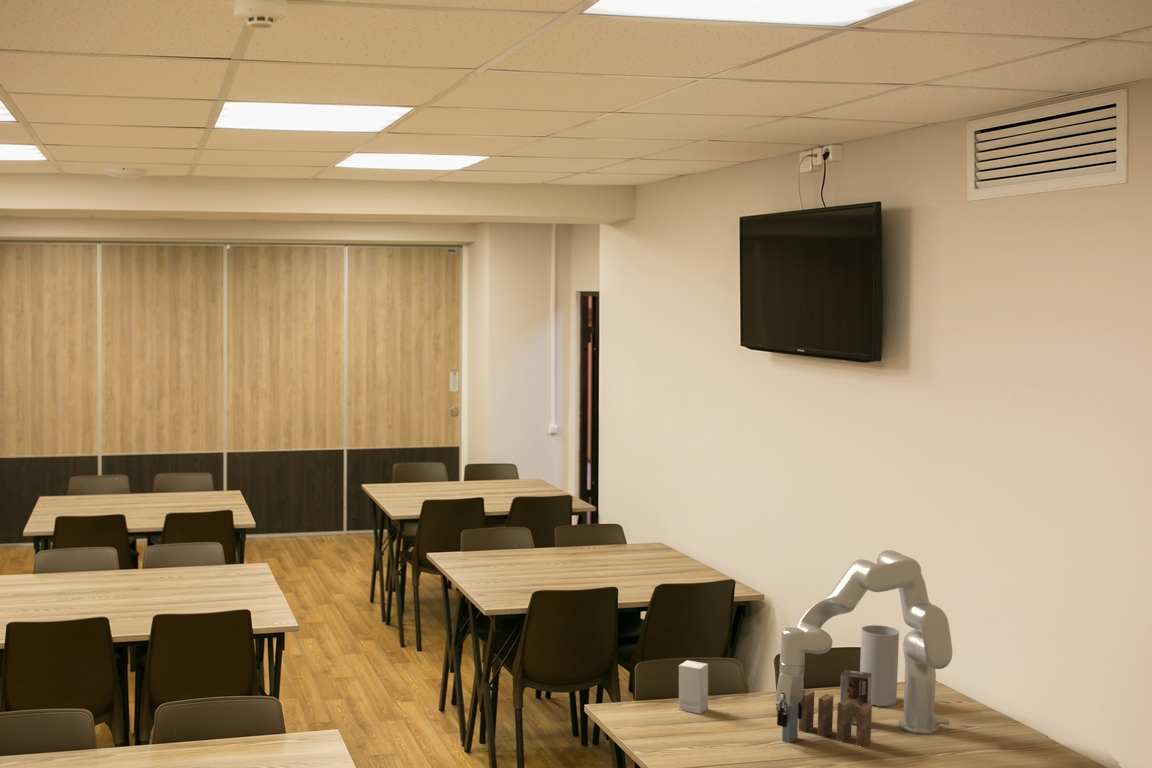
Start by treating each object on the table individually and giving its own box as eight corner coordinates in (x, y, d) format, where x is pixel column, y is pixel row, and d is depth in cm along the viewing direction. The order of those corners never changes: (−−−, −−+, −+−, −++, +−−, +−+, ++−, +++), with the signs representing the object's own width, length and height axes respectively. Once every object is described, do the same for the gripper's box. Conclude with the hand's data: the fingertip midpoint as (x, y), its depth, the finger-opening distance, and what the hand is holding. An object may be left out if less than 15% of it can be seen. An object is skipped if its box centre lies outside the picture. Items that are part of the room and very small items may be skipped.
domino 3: (851, 737, 351) (852, 700, 351) (843, 742, 347) (845, 704, 346) (844, 735, 353) (845, 698, 352) (836, 740, 348) (837, 703, 348)
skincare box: (708, 709, 374) (709, 663, 373) (699, 715, 369) (701, 668, 368) (686, 704, 379) (687, 659, 378) (677, 709, 373) (678, 664, 372)
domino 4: (870, 742, 347) (872, 704, 347) (863, 747, 343) (864, 709, 342) (863, 740, 349) (864, 703, 348) (855, 745, 344) (857, 707, 344)
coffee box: (870, 721, 366) (872, 672, 365) (867, 727, 360) (868, 678, 359) (842, 716, 370) (844, 668, 369) (838, 722, 364) (840, 674, 363)
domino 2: (832, 732, 355) (833, 695, 355) (824, 737, 351) (825, 700, 350) (825, 730, 357) (826, 693, 356) (817, 735, 352) (818, 698, 352)
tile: (797, 737, 350) (798, 700, 349) (789, 743, 346) (790, 705, 345) (790, 736, 351) (791, 698, 351) (782, 741, 347) (783, 703, 346)
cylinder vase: (853, 695, 391) (856, 625, 390) (887, 694, 393) (890, 625, 391) (866, 707, 379) (869, 635, 377) (902, 707, 380) (904, 635, 379)
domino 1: (813, 727, 359) (814, 691, 359) (805, 732, 355) (806, 695, 354) (806, 725, 361) (807, 689, 360) (798, 730, 356) (799, 693, 356)
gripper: (793, 659, 356) (791, 712, 357) (767, 671, 343) (765, 726, 344) (815, 664, 352) (812, 717, 353) (789, 677, 338) (787, 732, 339)
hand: (789, 722), depth 348 cm, fingers open, 9 cm apart
